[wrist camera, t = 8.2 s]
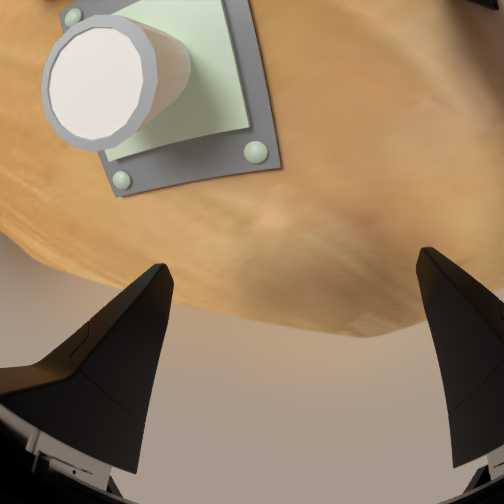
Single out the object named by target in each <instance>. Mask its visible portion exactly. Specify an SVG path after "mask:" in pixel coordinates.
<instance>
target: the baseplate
mask: <svg viewBox="0 0 504 504" xmlns="http://www.w3.org/2000/svg"><path fill="white" fill-rule="evenodd" d="M59 14H60V20H61V25H62V30H63V35H64V34H65V33H66V31H67V30H68V29H69V28H70V27H71V26H72V25H74V24H76V23H79V22H81V21H83V20H85V19H87V18H89V17H92V16H94V15H121V16H124V17H127V18H130V19H133V20H135V21H138V22H141V23H144V24H146V25H149V26H151V27H154V28H156V29H159V30H161V31H164V32H166V33H168V34H170V35H172V36H174V37H175V38H177V39H178V40H180V41H181V42H182V43H183V44H184V46H185V48H186V49H187V51H188V53H189V55H190V61H191V74H190V77H189V81H188V84H187V87H186V88H185V89H184V91H183V92H182V93H181V94H180V96H179V97H178V98H177V99H176V100H175V101H174V102H172V103H171V104H170V105H169V106H167V107H166V108H165V109H164V110H162V111H161V112H160V113H159V114H157V115H156V116H155V117H154V118H153V119H151V120H150V121H149V122H148V123H147V124H145V125H144V126H143V127H142V128H141V129H140V130H139V131H137V132H136V133H135V134H134V135H132V136H131V137H129V138H128V139H126V140H125V141H124V142H122V143H121V144H119V145H118V146H117V147H115V148H111V149H106V150H100V151H97V152H98V155H99V157H100V160H101V163H102V165H103V168H104V170H105V173H106V175H107V178H108V180H109V183H110V185H111V187H112V190H113V192H114V195H115V197H116V198H117V197H121V196H125V195H129V194H133V193H138V192H142V191H147V190H151V189H156V188H160V187H165V186H170V185H175V184H180V183H185V182H190V181H196V180H201V179H207V178H213V177H218V176H225V175H231V174H237V173H244V172H251V171H258V170H265V169H273V168H281V162H280V156H279V150H278V144H277V138H276V133H275V127H274V121H273V116H272V110H271V105H270V100H269V94H268V89H267V84H266V79H265V74H264V69H263V64H262V60H261V55H260V50H259V45H258V41H257V36H256V32H255V27H254V23H253V19H252V15H251V10H250V6H249V2H248V0H78V1H76V2H75V3H73V4H72V5H70V6H69V7H67V8H66V9H64V10H63V11H62V12H60V13H59Z"/></svg>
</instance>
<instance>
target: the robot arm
mask: <svg viewBox="0 0 504 504" xmlns="http://www.w3.org/2000/svg"><path fill="white" fill-rule="evenodd" d="M468 1H470V2H473V3H476V4H479V5H481V6H484V7H487V8H489V9H491V10H498V9H499V6H498V2H497V0H468ZM492 3H493V4H492ZM493 5H494V6H493ZM416 273H417V278H418V282H419V286H420V291H421V296H422V300H423V305H424V309H425V313H426V316H427V320H428V323H429V327H430V330H431V334H432V338H433V342H434V345H435V349H436V354H437V358H438V362H439V367H440V371H441V376H442V381H443V386H444V392H445V397H446V404H447V410H448V414H449V415H448V418H449V426H450V435H451V446H452V459H453V468H456V467H459V466H462V465H464V464H467V463H469V462H471V461H474V460H476V459H478V458H480V457H483V456H485V455H487V457H488V465H485V466H483V467H481V468H479V469H478V470H477V472H476V474H475V475H474V476H473V478H472V480H471V481H470V483H469V485H468V486H467V488H466V490H465V491H464V492H463V494H461V495H459V496H457V497H454V498H452V499H449V500H446V501H444V502H441V503H438V504H504V303H503V302H502V301H501V300H499V298H498V297H496V296H495V295H494V294H493V293H492V292H490V291H489V290H488V289H487V288H486V287H484V286H483V285H482V284H481V283H479V282H478V281H477V280H476V279H474V278H473V277H472V276H471V275H469V274H468V273H467V272H465V271H464V270H463V269H462V268H460V267H459V266H458V265H456V264H455V263H454V262H452V261H451V260H449V259H448V258H447V257H445V256H444V255H443V254H441V253H440V252H438V251H437V250H436V249H434V248H433V247H423V248H421V250H420V253H419V257H418V260H417V264H416ZM173 288H174V281H173V278H172V276H171V274H170V271H169V269H168V267H167V265H166V264H164V263H161V264H154V265H153V266H152V267H151V268H149V269H148V270H147V271H146V272H144V273H143V274H142V275H141V276H140V277H138V278H137V279H136V280H135V281H134V282H132V283H131V284H130V285H129V286H128V287H127V288H125V289H124V290H123V291H122V292H121V293H119V294H118V295H117V296H116V297H115V298H114V299H113V300H111V301H110V302H109V303H108V304H107V305H106V306H105V307H103V308H102V309H101V310H100V311H99V312H98V313H96V314H95V315H94V316H93V317H92V318H91V319H90V321H87V322H86V323H85V324H84V325H83V326H82V327H81V328H80V329H79V330H77V331H76V332H75V333H74V334H73V335H72V336H71V337H69V338H68V339H67V340H65V341H64V342H63V343H62V344H61V345H59V346H58V347H57V348H56V349H54V350H53V351H52V352H51V353H49V354H48V355H47V356H46V357H44V358H43V359H42V360H40V361H39V362H37V363H35V364H33V365H29V366H20V367H9V368H0V504H138V503H135V502H132V501H129V500H127V499H124V498H123V496H122V495H121V493H120V491H119V490H118V488H117V486H116V484H115V483H114V481H113V479H112V477H111V476H110V472H111V468H112V467H115V468H118V469H121V470H124V471H127V472H130V473H133V474H136V473H137V468H138V462H139V456H140V450H141V444H142V439H143V433H144V428H145V424H144V423H145V422H146V416H147V411H148V406H149V401H150V397H151V392H152V387H153V383H154V378H155V374H156V370H157V365H158V361H159V356H160V352H161V349H162V345H163V340H164V336H165V333H166V329H167V325H168V320H169V313H170V306H171V300H172V294H173Z"/></svg>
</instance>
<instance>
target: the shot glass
mask: <svg viewBox="0 0 504 504" xmlns="http://www.w3.org/2000/svg"><path fill="white" fill-rule="evenodd" d="M190 74H191V61H190V55H189V53H188V51H187V49H186V48H185V46H184V44H183V43H182V42H181V41H180V40H178V39H177V38H175V37H174V36H172V35H170V34H168V33H166V32H164V31H161V30H159V29H156V28H154V27H151V26H149V25H146V24H144V23H141V22H138V21H135V20H133V19H130V18H127V17H124V16H121V15H94V16H92V17H89V18H87V19H85V20H83V21H81V22H79V23H76V24H74V25H72V26H71V27H70V28H69V29H68V30H67V31H66V33H65V34H64V35H63V36H62V37H61V38H60V39H59V40H58V41H57V42H56V43H55V44H54V46H53V48H52V50H51V53H50V55H49V57H48V59H47V61H46V63H45V66H44V70H43V77H42V84H41V96H42V101H43V107H44V112H45V115H46V117H47V119H48V120H49V122H50V124H51V126H52V127H53V129H54V131H55V132H56V134H57V135H59V136H60V137H61V138H62V139H64V140H65V141H66V142H67V143H69V144H70V145H71V146H72V147H76V148H80V149H84V150H87V151H91V152H95V151H100V150H106V149H111V148H115V147H117V146H118V145H119V144H121V143H122V142H124V141H125V140H126V139H128V138H129V137H131V136H132V135H134V134H135V133H136V132H137V131H139V130H140V129H141V128H142V127H143V126H144V125H145V124H147V123H148V122H149V121H150V120H151V119H153V118H154V117H155V116H156V115H157V114H159V113H160V112H161V111H162V110H164V109H165V108H166V107H167V106H169V105H170V104H171V103H172V102H174V101H175V100H176V99H177V98H178V97H179V96H180V94H181V93H182V92H183V91H184V89H185V88H186V87H187V84H188V81H189V77H190Z"/></svg>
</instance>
